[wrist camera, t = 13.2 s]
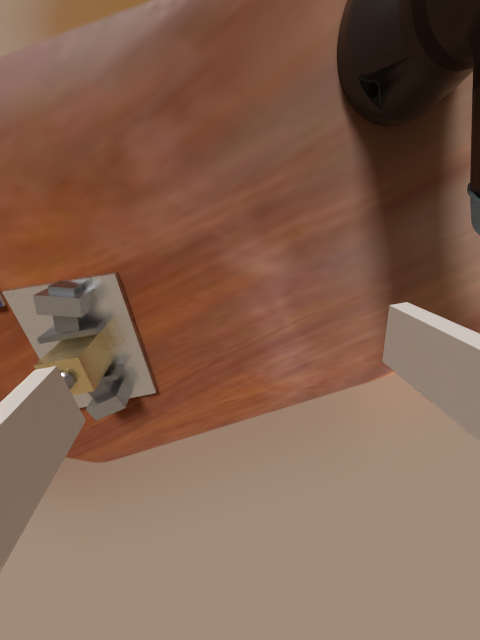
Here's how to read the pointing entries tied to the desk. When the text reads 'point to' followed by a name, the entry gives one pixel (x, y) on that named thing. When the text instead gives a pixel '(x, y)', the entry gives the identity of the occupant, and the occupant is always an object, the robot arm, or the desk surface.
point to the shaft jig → (88, 333)
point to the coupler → (79, 362)
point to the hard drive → (2, 301)
